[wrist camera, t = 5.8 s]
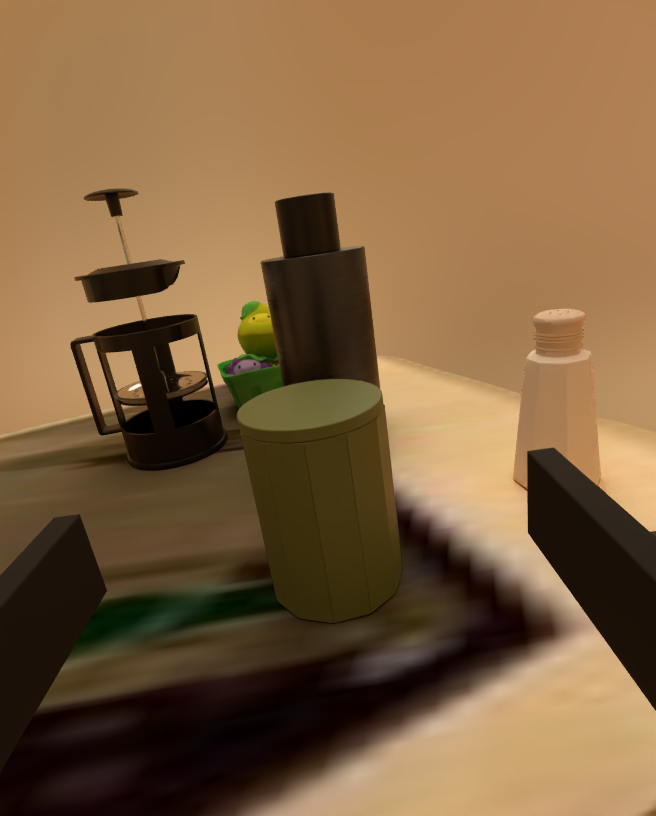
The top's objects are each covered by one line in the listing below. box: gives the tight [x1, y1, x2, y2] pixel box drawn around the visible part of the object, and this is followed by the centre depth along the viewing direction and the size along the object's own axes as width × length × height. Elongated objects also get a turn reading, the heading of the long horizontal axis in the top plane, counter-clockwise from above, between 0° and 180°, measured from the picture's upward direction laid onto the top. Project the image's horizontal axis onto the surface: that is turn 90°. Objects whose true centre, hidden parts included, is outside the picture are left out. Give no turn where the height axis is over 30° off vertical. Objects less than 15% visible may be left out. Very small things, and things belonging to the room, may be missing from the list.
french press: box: [71, 189, 227, 470], centre depth 44 cm, size 12×9×23 cm
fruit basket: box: [218, 301, 283, 409], centre depth 55 cm, size 11×9×11 cm
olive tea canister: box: [237, 379, 403, 623], centre depth 25 cm, size 7×7×10 cm
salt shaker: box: [513, 309, 601, 489], centre depth 31 cm, size 5×5×11 cm
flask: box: [261, 193, 380, 389], centre depth 40 cm, size 8×8×20 cm
